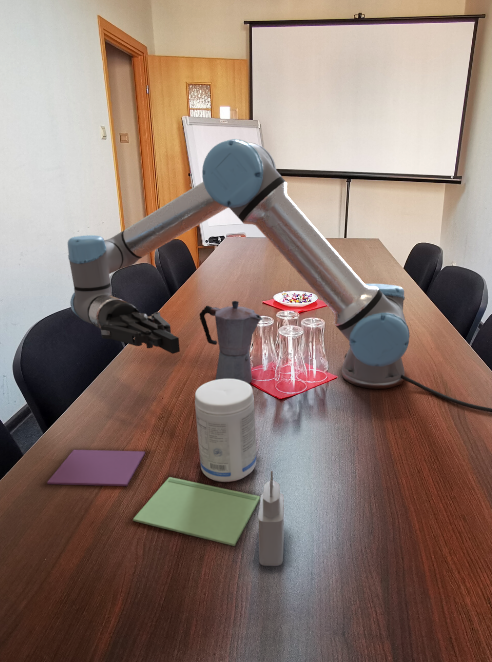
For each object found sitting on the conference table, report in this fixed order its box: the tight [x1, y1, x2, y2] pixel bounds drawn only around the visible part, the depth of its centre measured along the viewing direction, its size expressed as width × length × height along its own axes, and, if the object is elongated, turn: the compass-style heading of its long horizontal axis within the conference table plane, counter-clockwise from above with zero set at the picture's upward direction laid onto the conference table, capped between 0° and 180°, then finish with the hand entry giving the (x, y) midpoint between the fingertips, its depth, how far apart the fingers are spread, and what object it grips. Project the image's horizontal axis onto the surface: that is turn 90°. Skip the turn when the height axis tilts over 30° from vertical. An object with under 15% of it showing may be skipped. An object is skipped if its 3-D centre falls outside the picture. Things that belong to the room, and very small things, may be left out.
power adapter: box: [257, 470, 285, 567], centre depth 60 cm, size 3×5×12 cm, turn 179°
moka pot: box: [199, 300, 263, 385], centre depth 107 cm, size 10×15×20 cm, turn 78°
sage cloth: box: [132, 476, 261, 547], centre depth 69 cm, size 16×10×1 cm, turn 74°
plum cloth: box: [46, 449, 146, 487], centre depth 78 cm, size 13×9×1 cm
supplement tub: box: [194, 379, 257, 483], centre depth 77 cm, size 10×10×15 cm
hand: (175, 345), depth 82 cm, fingers closed
